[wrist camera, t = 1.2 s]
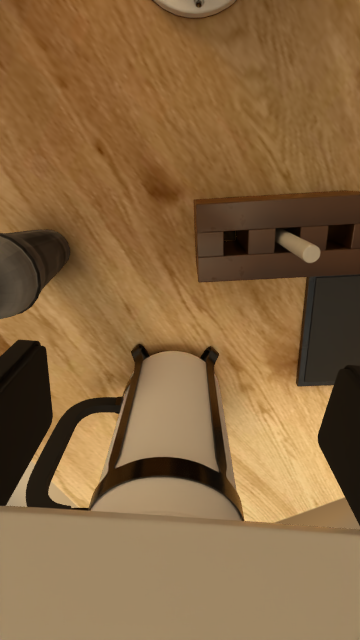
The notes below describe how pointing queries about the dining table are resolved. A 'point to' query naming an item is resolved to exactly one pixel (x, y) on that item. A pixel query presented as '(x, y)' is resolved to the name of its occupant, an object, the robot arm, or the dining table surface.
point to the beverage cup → (28, 267)
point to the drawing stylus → (297, 246)
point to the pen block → (259, 235)
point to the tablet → (329, 329)
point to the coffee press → (156, 443)
